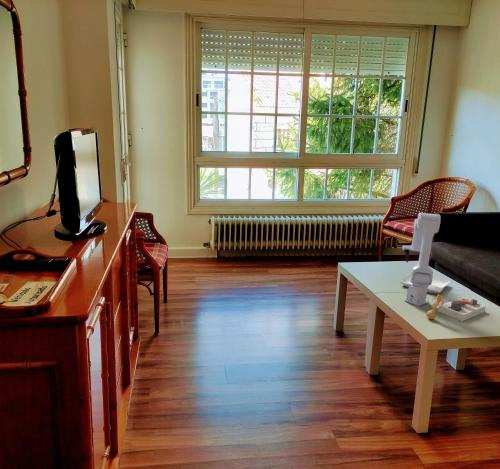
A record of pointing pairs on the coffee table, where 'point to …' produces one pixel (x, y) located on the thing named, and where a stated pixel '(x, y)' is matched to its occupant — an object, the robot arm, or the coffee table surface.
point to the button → (456, 305)
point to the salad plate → (433, 288)
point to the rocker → (465, 301)
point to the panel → (462, 310)
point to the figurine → (431, 313)
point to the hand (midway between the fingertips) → (414, 262)
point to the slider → (474, 302)
